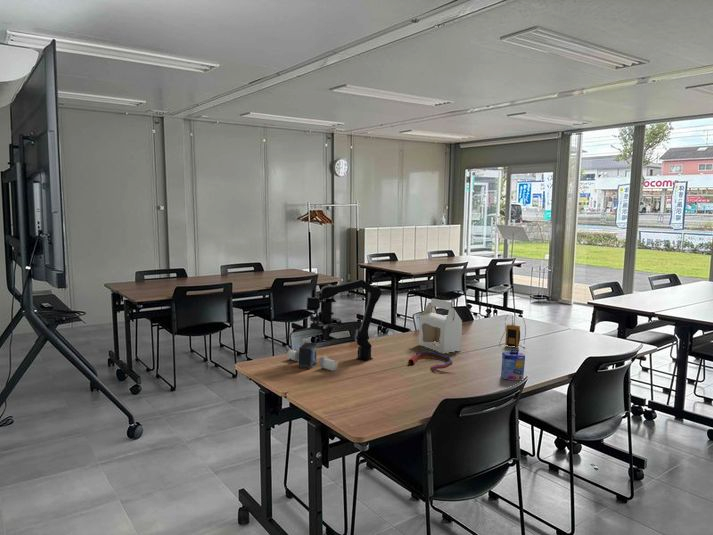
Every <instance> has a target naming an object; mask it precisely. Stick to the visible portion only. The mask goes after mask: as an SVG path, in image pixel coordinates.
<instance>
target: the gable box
mask: <svg viewBox="0 0 713 535" xmlns="http://www.w3.org/2000/svg"><path fill="white" fill-rule="evenodd" d="M436 308H439V309H443V310H448V311H447V316H446V315H443V314H439V313H437V311H436ZM462 331H463V320H462V319H461V317H460V316H459V314H458V313H457V311H456V309H455V308H454V304H453V303H452V302H450V301H446V300H441V299H438V298H434V297H433V298H431V300H430V302H428V303H427V305H426V307H425V308H424V310H423V311H422V313H421V314H420V315H419V327H418V345H419V344H420V345H422V346H425V347H428V348H430V349H429V350H431V349H433V350H432V351H434V350H436V351H435V352H437V351H439V352H441V353H440V354H442V353H447V354H449V353H448V352H453V353H455V352H454V351H458V352H460V351H459V350H462V336H463V335H462V333H463V332H462ZM434 341H436V342H439V346H436V345H435V344H433V343H431V342H434ZM420 345H419V346H420ZM422 346H421V347H422ZM425 347H424V348H425ZM428 348H427V349H428ZM439 352H438V353H439Z"/></svg>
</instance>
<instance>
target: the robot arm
mask: <svg viewBox="0 0 713 535" xmlns="http://www.w3.org/2000/svg"><path fill="white" fill-rule="evenodd" d="M360 288H362V289H363V290H365V291H366V292H367V303H366V306H365V310H364V313H363V318H362V321H361V324H360V326H359V329H357V328H356V329H355V334H354V336H353V337H354V341H355V343H356V344H357V345H358V346H357V347H358V349H357V357H356V360H358V361H359V360H360V361H362V362H367V361H370V360H373V359H374V358H373V357H372V344H371V343H370V341H369V328H370V325H371V322H372V317H373V314H374V310H375V307H376V304H377V303H378V302H379V300H380V297H381V296H382V290H381V288H380V287H379V286H377V285H375V284H373V285H372V284H370V283H369V282H367V281H366V280H365V279H363V278H359V279H357V280H354V281H353V280H352V281H349V282H345V283H340V284H335V285H334V284H328V285H323V286H322V287H321V289H320V292H319V293H318V295H317V296H316V297H312V296H307V297H306V302H305V303H306V306H305V308H306V311H318V310H320V311H319V312H318V314H317V315H315V313H314V314H310V317H309V320H310V321H311V323H310V324H309V328H310V329H312V330H317V331H319V330H320V331H321V333H322V336H323V340H324V341H328V339H329V337H330V335H331V333H332V331H333V329H334V328H335V326H334V324H336V325H337V326H340V325H342V319H341V318H337V317H333V315H334V312H333V303H337V300H336V299H335V298H334V296H336V295H338V294H341V293H344V292H347V291H348V292H349V291H352V290H356V289H360Z"/></svg>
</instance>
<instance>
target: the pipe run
mask: <svg viewBox="0 0 713 535" xmlns="http://www.w3.org/2000/svg"><path fill="white" fill-rule="evenodd" d="M286 358H287V360H290V359H291V361H295V362H298V363H299V349H298V350H294V349H289V350H288V351H287V353H286ZM319 367H320V368H321V369H325V370H328V371H332V372H335V371H336V370H337V368H338V361H337V360H333V359H331V358H329V357H328V356H327V355H324V356H321V357H320V360H319ZM334 370H335V371H334Z"/></svg>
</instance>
